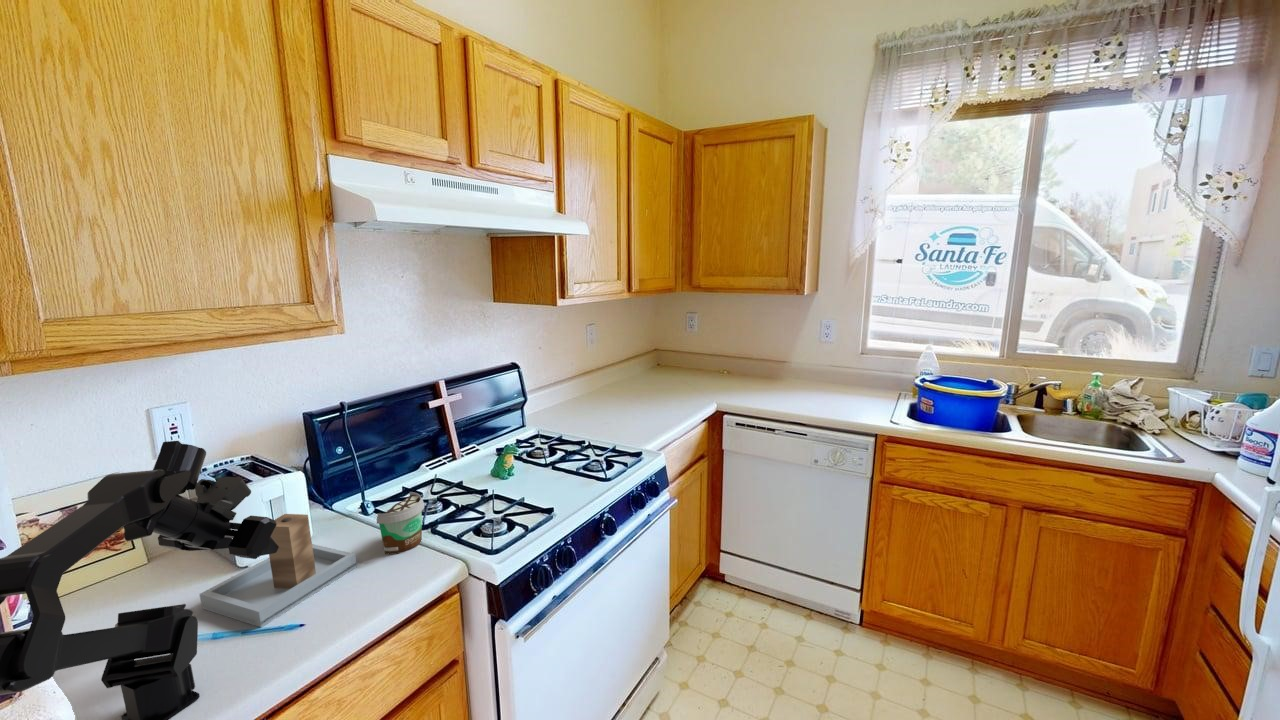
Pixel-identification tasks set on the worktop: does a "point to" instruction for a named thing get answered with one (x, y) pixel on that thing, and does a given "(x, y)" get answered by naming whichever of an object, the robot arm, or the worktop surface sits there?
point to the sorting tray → (257, 596)
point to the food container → (402, 525)
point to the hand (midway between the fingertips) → (255, 547)
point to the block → (292, 551)
